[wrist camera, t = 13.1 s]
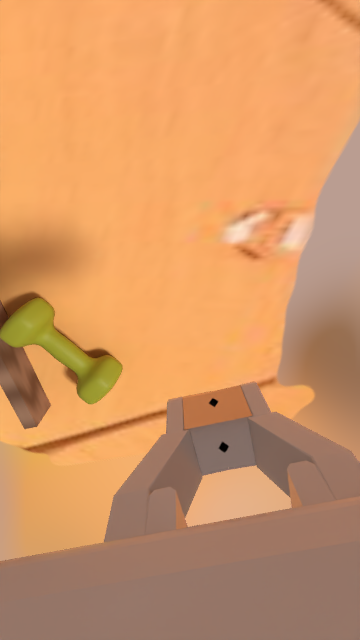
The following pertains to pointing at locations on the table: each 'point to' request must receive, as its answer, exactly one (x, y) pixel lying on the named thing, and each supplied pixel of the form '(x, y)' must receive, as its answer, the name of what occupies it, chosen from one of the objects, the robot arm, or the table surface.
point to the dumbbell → (61, 349)
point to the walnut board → (21, 382)
